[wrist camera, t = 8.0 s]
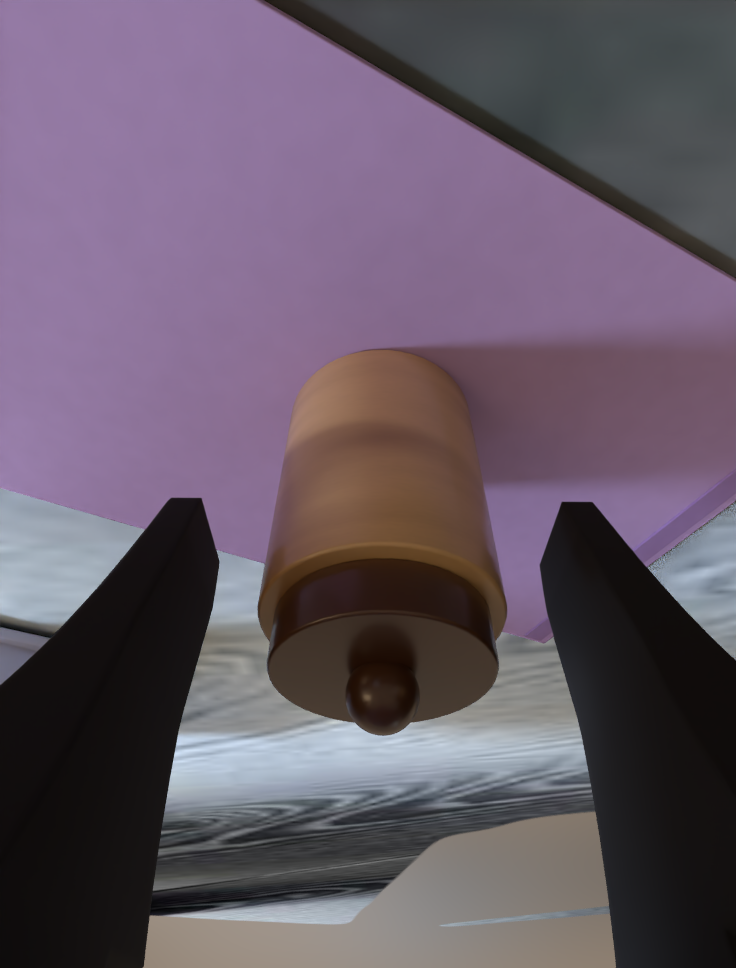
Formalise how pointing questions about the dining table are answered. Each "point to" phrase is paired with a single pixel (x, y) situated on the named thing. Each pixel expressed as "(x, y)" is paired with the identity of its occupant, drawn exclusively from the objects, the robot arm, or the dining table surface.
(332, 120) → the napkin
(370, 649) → the salt mill
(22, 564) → the dining table surface
